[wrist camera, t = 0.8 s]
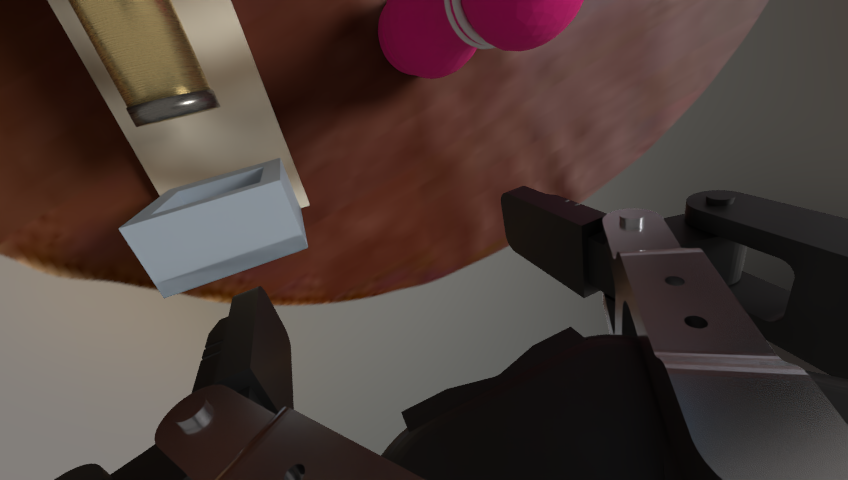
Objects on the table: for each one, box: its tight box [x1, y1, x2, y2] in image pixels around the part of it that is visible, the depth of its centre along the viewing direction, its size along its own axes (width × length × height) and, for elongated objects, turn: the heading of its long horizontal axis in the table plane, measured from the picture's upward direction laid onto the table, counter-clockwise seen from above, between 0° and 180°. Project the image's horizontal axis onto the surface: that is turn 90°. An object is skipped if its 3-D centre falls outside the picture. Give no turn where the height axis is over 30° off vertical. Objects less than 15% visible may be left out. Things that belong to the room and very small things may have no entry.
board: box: [47, 0, 310, 208], centre depth 25 cm, size 24×10×1 cm, turn 13°
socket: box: [119, 158, 308, 298], centre depth 25 cm, size 4×8×10 cm, turn 103°
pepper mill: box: [378, 0, 584, 79], centre depth 22 cm, size 7×7×20 cm
